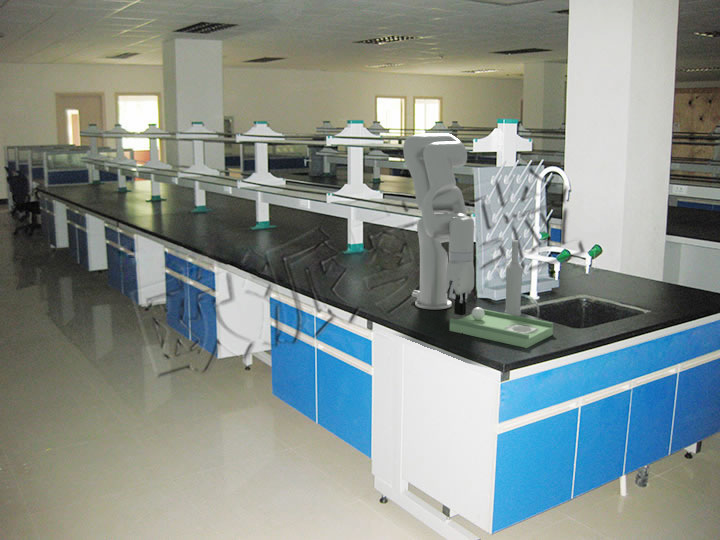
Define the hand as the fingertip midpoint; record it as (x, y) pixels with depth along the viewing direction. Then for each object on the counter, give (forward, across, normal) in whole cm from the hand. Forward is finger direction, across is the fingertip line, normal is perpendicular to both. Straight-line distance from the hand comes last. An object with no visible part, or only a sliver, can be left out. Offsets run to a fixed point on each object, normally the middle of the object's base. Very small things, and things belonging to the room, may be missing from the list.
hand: (460, 314), depth 217 cm
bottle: (+3, -18, +8) cm, 20 cm away
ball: (-1, 0, +6) cm, 7 cm away
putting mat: (+3, 0, +14) cm, 15 cm away
